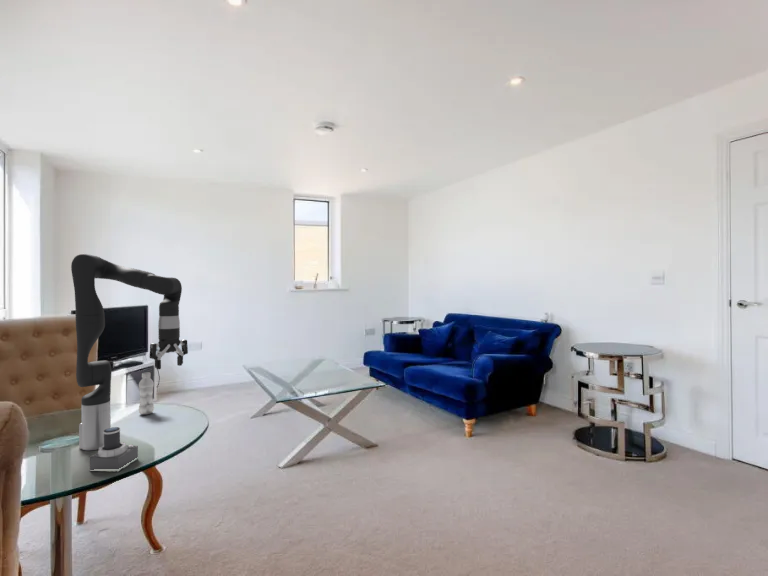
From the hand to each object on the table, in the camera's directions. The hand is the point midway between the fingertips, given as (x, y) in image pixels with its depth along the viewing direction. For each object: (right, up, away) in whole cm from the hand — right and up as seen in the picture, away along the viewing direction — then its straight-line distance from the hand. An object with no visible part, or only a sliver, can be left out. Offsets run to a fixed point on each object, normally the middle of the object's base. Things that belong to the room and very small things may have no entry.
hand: (169, 367), depth 162 cm
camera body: (-8, -30, -21) cm, 38 cm away
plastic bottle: (-29, -30, +34) cm, 54 cm away
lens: (-8, -25, -22) cm, 34 cm away
